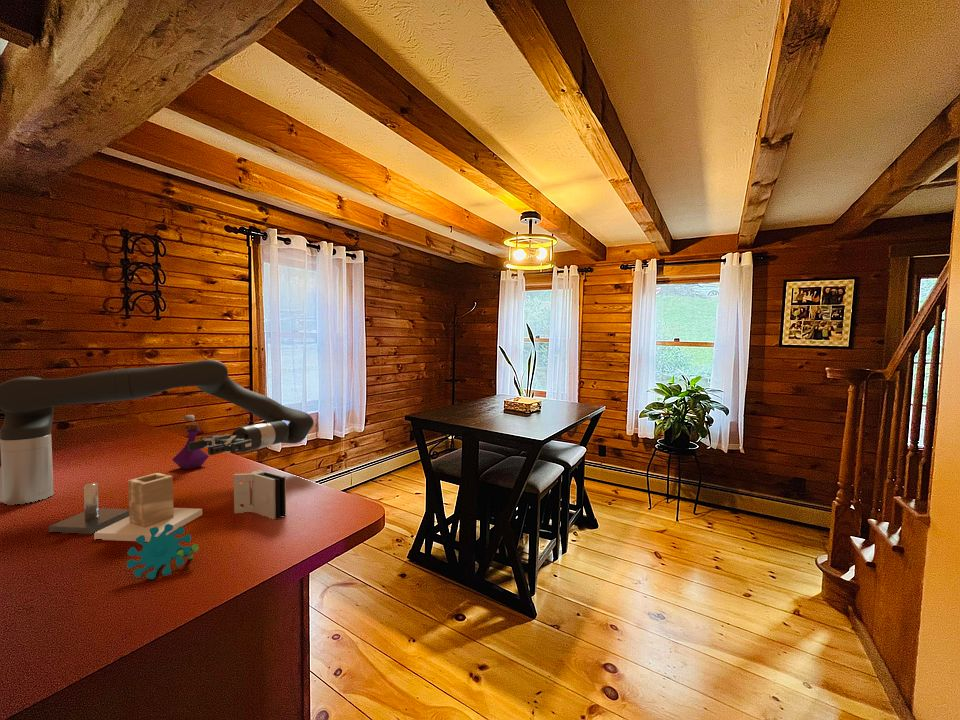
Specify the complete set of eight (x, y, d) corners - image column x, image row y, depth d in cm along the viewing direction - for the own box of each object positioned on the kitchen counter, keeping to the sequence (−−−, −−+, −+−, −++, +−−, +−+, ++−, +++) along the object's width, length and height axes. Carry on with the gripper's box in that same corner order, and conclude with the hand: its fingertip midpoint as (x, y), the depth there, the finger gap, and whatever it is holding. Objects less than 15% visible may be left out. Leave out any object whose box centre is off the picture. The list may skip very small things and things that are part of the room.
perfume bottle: (209, 465, 142) (208, 414, 141) (187, 471, 135) (186, 417, 134) (193, 462, 144) (192, 412, 143) (171, 469, 137) (170, 416, 136)
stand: (49, 532, 92) (47, 491, 92) (93, 513, 102) (92, 476, 102) (90, 534, 92) (89, 493, 91) (131, 515, 102) (130, 477, 101)
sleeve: (129, 522, 95) (128, 480, 94) (158, 512, 100) (157, 472, 100) (144, 527, 92) (143, 484, 92) (173, 517, 98) (172, 476, 97)
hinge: (233, 513, 104) (232, 474, 103) (250, 505, 109) (249, 468, 109) (277, 520, 100) (277, 480, 100) (293, 512, 105) (293, 473, 105)
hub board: (94, 539, 90) (93, 506, 89) (149, 512, 104) (148, 483, 103) (154, 542, 89) (154, 508, 88) (202, 514, 103) (201, 485, 102)
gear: (114, 578, 73) (138, 522, 79) (123, 588, 77) (144, 534, 83) (187, 575, 76) (204, 522, 83) (191, 585, 80) (207, 533, 87)
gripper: (238, 422, 126) (182, 431, 111) (271, 427, 120) (215, 438, 105) (238, 446, 126) (182, 459, 111) (270, 452, 120) (215, 467, 105)
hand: (198, 449), depth 108 cm, fingers open, 8 cm apart
